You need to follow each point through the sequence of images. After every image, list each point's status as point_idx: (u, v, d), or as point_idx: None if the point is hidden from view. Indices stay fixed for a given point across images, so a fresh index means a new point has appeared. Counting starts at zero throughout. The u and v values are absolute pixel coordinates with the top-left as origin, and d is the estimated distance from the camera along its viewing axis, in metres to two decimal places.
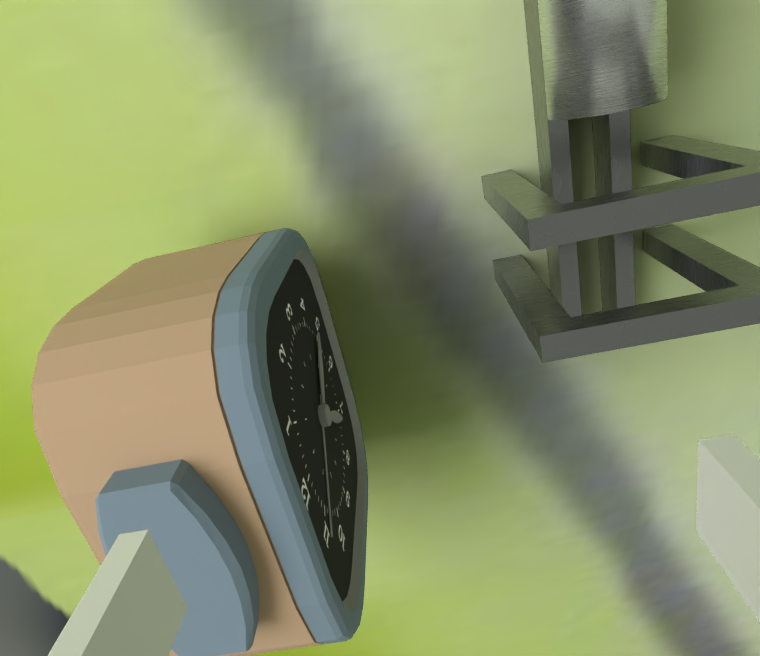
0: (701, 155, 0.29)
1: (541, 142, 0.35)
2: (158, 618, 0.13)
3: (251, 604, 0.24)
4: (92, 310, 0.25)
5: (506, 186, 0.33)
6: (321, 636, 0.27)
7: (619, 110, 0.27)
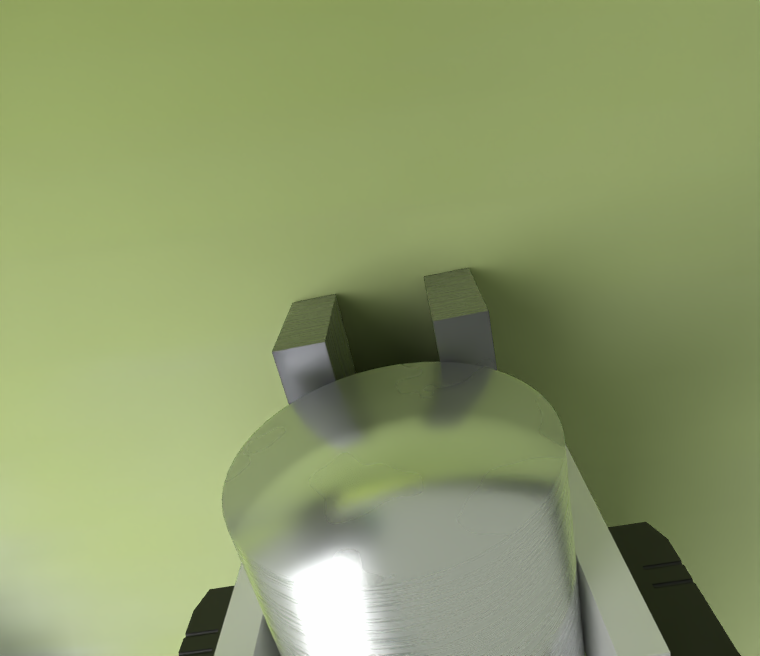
0: None
1: None
2: None
3: None
4: None
5: None
6: None
7: None
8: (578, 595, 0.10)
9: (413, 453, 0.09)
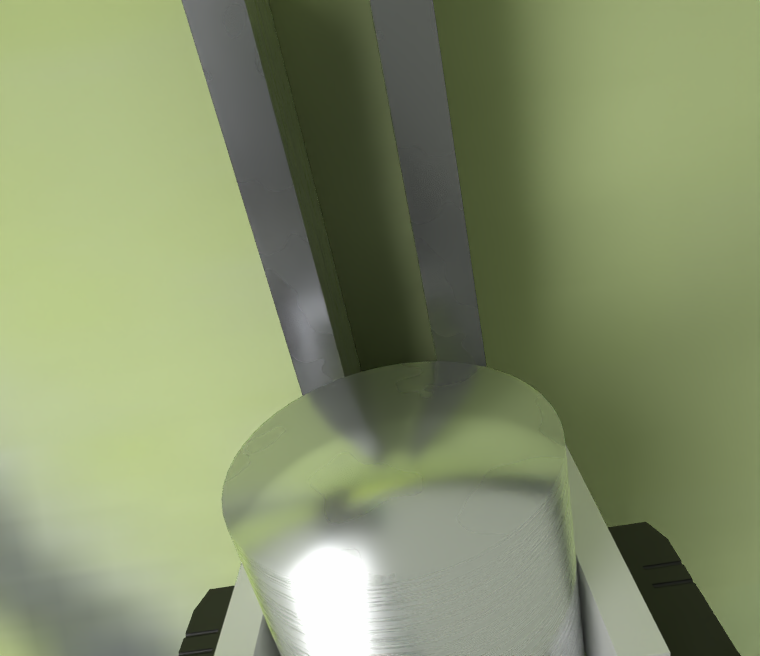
0: None
1: None
2: None
3: None
4: None
5: None
6: None
7: None
8: (578, 595, 0.10)
9: (413, 453, 0.09)
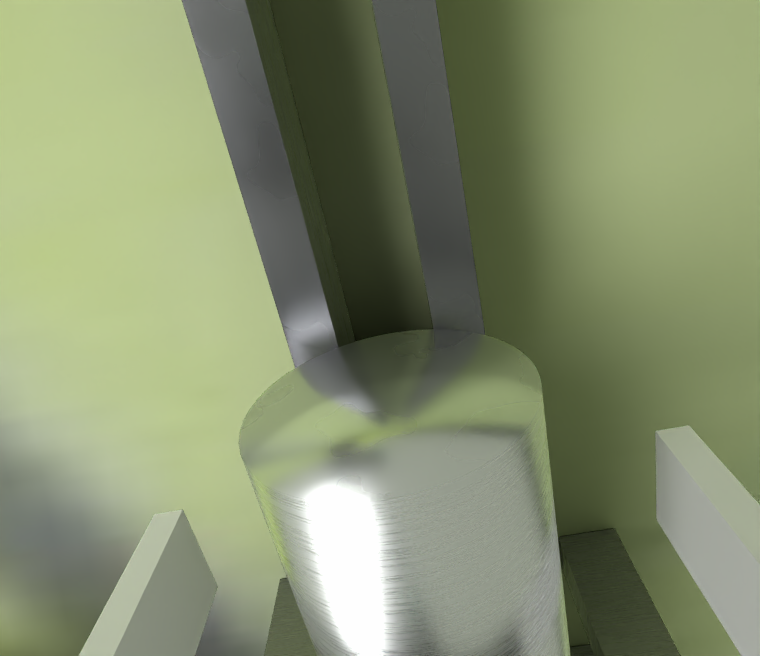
0: None
1: None
2: (193, 595, 0.13)
3: None
4: None
5: None
6: None
7: None
8: (555, 531, 0.11)
9: (408, 402, 0.11)
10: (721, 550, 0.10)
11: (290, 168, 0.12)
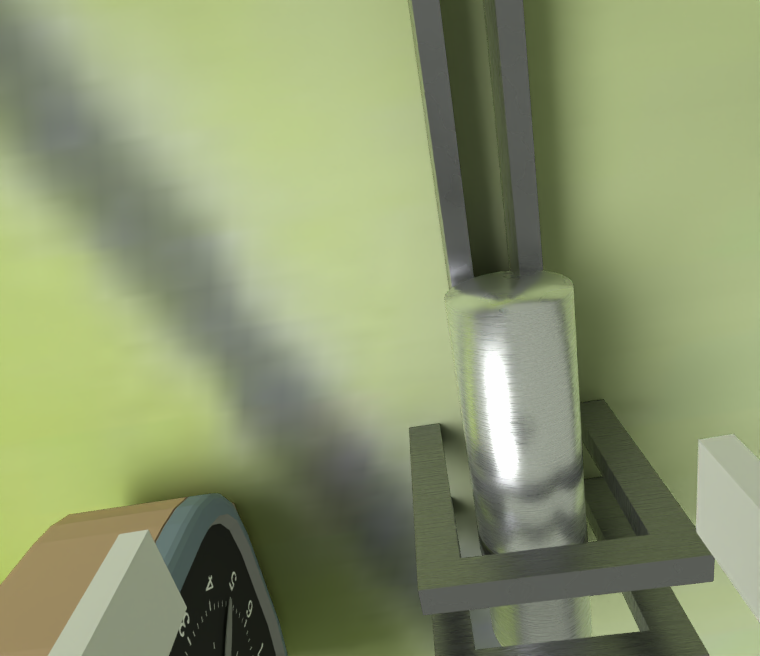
0: (616, 476, 0.28)
1: None
2: (158, 618, 0.13)
3: None
4: None
5: (423, 473, 0.32)
6: None
7: None
8: (576, 350, 0.26)
9: (517, 291, 0.26)
10: None
11: None
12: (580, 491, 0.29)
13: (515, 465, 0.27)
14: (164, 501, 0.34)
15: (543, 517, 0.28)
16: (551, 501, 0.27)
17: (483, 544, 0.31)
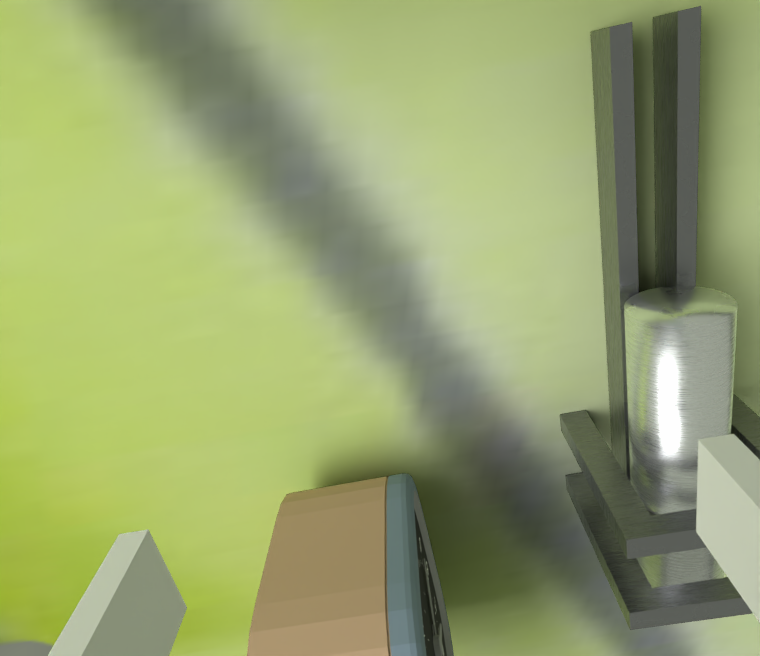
0: (758, 449, 0.36)
1: (614, 397, 0.41)
2: (158, 618, 0.13)
3: None
4: (276, 613, 0.31)
5: (589, 451, 0.39)
6: None
7: None
8: None
9: (689, 305, 0.33)
10: None
11: (636, 227, 0.34)
12: None
13: (685, 442, 0.34)
14: (368, 481, 0.41)
15: None
16: None
17: None
